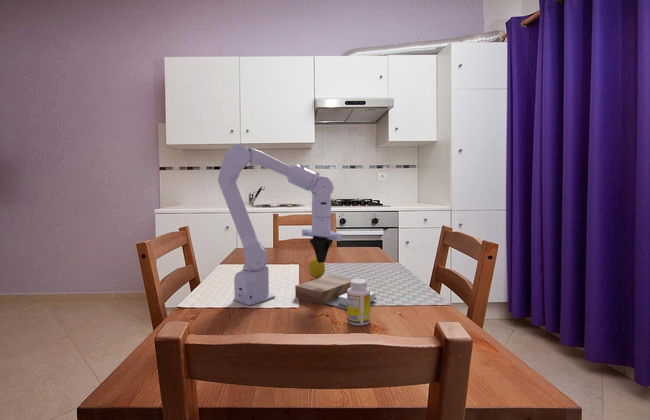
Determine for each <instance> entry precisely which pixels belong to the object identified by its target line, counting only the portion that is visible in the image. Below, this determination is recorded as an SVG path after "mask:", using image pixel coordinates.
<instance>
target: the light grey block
mask: <svg viewBox="0 0 650 420" xmlns="http://www.w3.org/2000/svg"><path fill="white" fill-rule="evenodd" d="M375 297H376V292H372V291H370V303H372V302H373V301H375V300H376V299H375ZM339 304H343V305H346V306H347V293H346V294H343V295H341V296H339Z"/></svg>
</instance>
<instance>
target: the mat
mask: <svg viewBox="0 0 650 420" xmlns="http://www.w3.org/2000/svg"><path fill="white" fill-rule="evenodd" d="M376 299H377V297H376V296H375V300H376ZM325 305H328V306H331V307H334V308H339V309H342V310H345V311H347V306H346V305H343V304H339V298H337V299H334V300H332V301H329V302H327V303H325Z"/></svg>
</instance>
